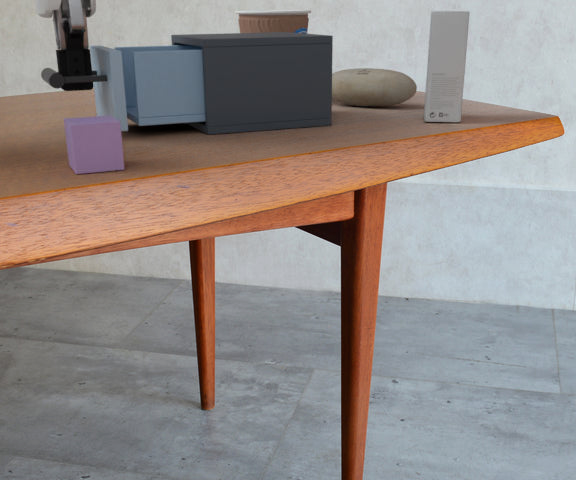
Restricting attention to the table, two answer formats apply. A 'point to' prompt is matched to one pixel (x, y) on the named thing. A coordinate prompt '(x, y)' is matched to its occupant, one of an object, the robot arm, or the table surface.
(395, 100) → the stone
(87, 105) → the table surface
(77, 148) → the cube
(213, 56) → the cabinet
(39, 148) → the table surface
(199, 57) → the drawer
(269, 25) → the coffee cup
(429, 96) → the cosmetic box
